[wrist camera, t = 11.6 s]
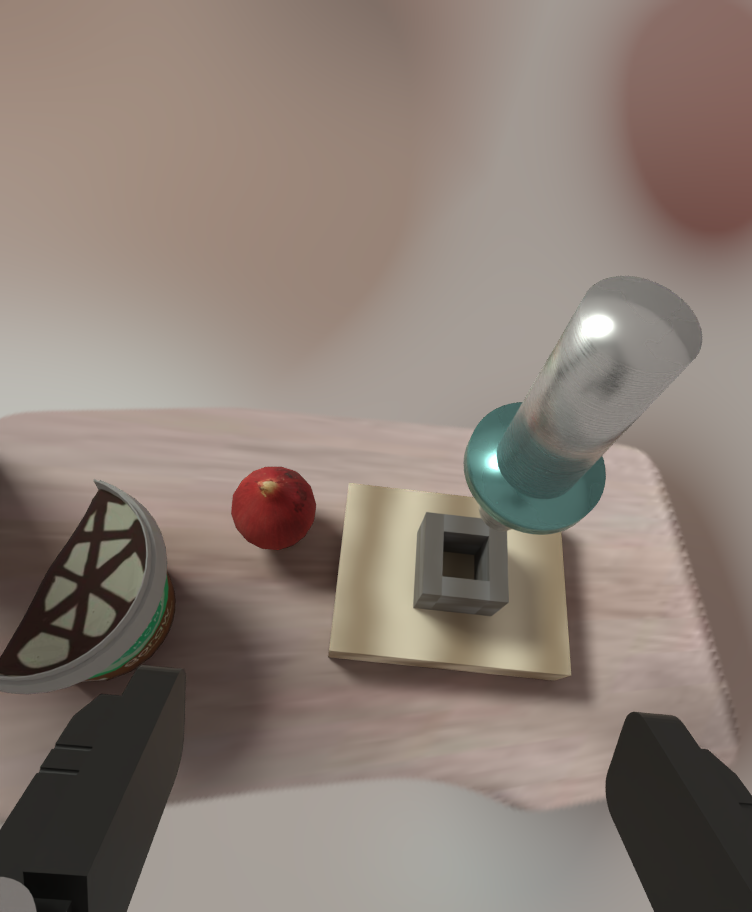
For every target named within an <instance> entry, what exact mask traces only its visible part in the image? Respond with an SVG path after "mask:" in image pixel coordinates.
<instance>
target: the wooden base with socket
mask: <svg viewBox="0 0 752 912" xmlns="http://www.w3.org/2000/svg"><path fill="white" fill-rule="evenodd" d="M328 657H330V658H340V659H349V660H359V661H369V662H378V663H388V664H398V665H408V666H417V667H427V668H437V669H446V670H456V671H466V672H476V673H485V674H495V675H505V676H515V677H524V678H534V679H544V680H553V681H555V680H558V679H562V678H565V677H568V676H571V664H570V650H569V635H568V621H567V607H566V593H565V578H564V564H563V550H562V536H561V532H558V533H553V534H546V535H536V534H528V533H523V532H520V531H516V530H513V529H511V530H508V531H497V530H494V529H492V528H490V527H489V526H487V525H486V524H485V523H484V521H483V520H482V518H481V516H480V513H479V504H478V503H477V501H476V500H475V498H474V497H467V496H458V495H449V494H440V493H432V492H423V491H414V490H406V489H397V488H388V487H380V486H371V485H362V484H354V483H349V486H348V495H347V503H346V512H345V520H344V529H343V537H342V545H341V554H340V562H339V571H338V579H337V588H336V596H335V605H334V613H333V622H332V630H331V638H330V647H329V656H328Z"/></svg>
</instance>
